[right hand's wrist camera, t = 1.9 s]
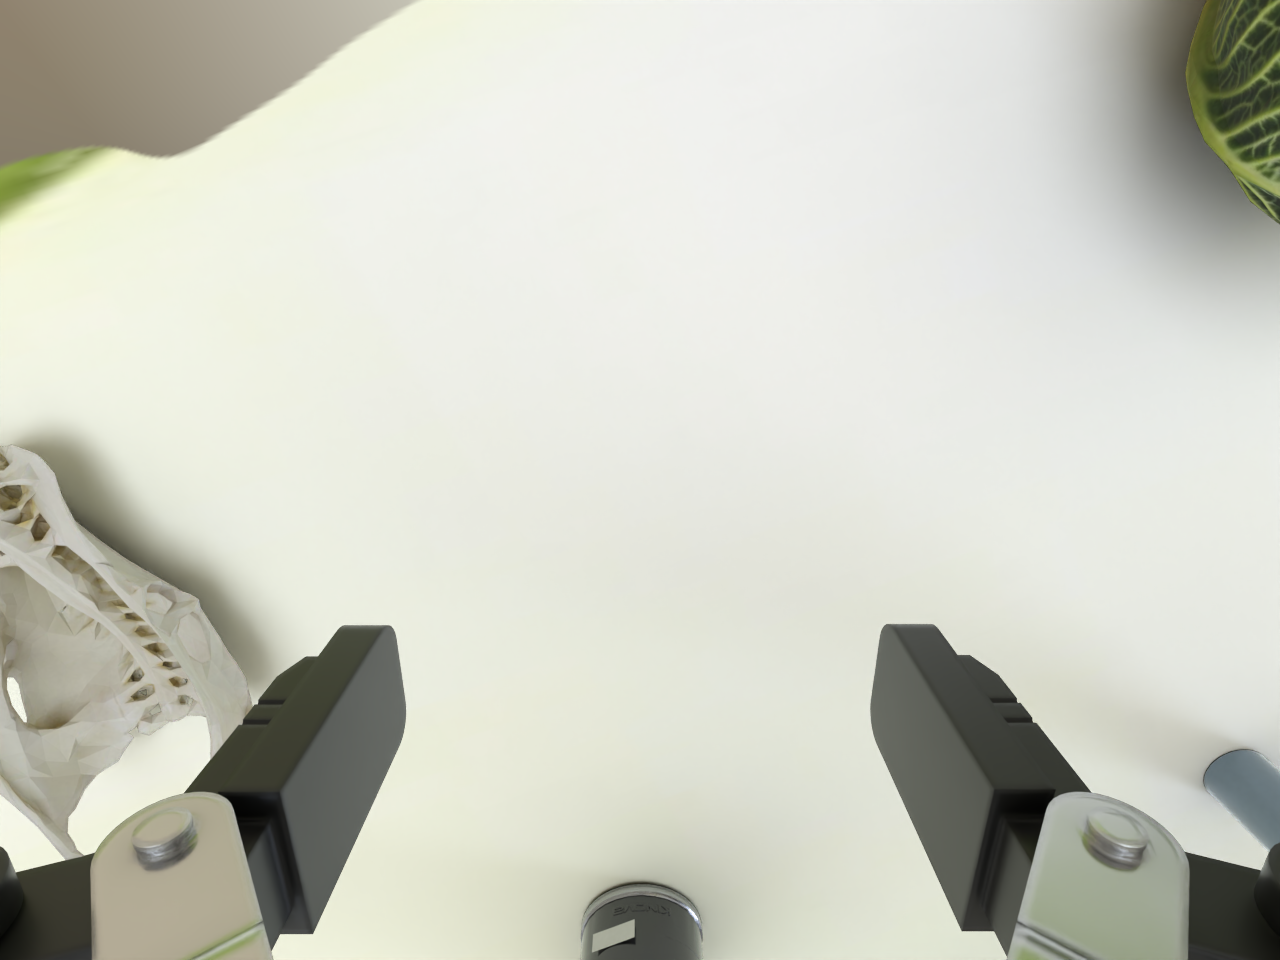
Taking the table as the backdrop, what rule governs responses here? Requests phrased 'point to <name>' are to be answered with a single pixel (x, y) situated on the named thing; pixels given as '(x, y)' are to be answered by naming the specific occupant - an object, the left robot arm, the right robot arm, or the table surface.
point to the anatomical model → (90, 652)
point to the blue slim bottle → (1248, 792)
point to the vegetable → (1240, 92)
